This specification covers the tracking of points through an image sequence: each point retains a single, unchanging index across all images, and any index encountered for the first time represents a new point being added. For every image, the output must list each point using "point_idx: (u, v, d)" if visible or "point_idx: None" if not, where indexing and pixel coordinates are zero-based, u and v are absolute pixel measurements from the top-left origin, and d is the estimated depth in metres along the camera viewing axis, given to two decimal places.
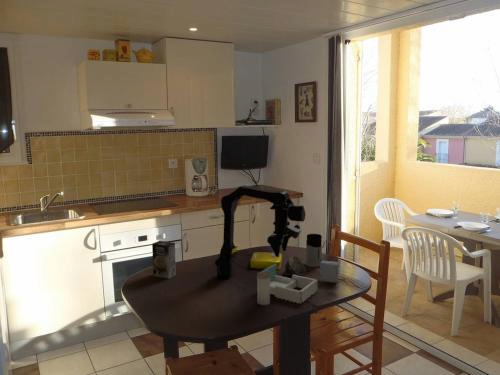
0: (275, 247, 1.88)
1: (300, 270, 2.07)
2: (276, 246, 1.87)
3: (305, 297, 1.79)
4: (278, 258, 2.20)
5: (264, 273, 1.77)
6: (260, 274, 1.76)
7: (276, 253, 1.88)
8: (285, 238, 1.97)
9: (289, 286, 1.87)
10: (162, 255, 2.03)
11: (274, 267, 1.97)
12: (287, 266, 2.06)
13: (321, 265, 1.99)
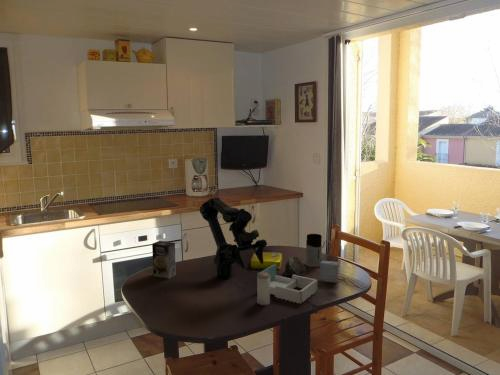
0: (237, 259, 1.82)
1: (300, 270, 2.07)
2: (237, 257, 1.82)
3: (305, 297, 1.79)
4: (278, 258, 2.21)
5: (264, 273, 1.77)
6: (260, 274, 1.76)
7: (240, 264, 1.80)
8: (258, 251, 1.87)
9: (289, 286, 1.87)
10: (162, 255, 2.03)
11: (274, 267, 1.97)
12: (287, 266, 2.06)
13: (321, 265, 1.99)
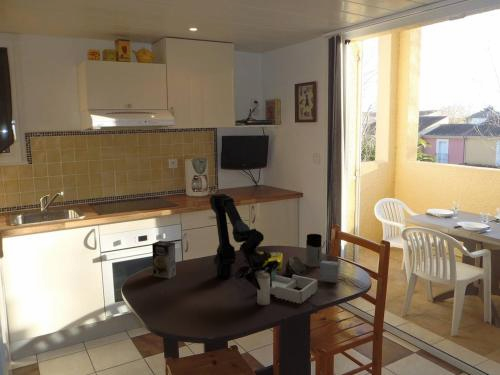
0: (252, 280, 1.76)
1: (300, 270, 2.07)
2: (252, 279, 1.76)
3: (305, 297, 1.79)
4: (279, 258, 2.21)
5: (264, 273, 1.77)
6: (260, 274, 1.76)
7: (256, 286, 1.75)
8: None
9: (289, 286, 1.87)
10: (162, 255, 2.03)
11: None
12: (287, 266, 2.06)
13: (321, 265, 1.99)
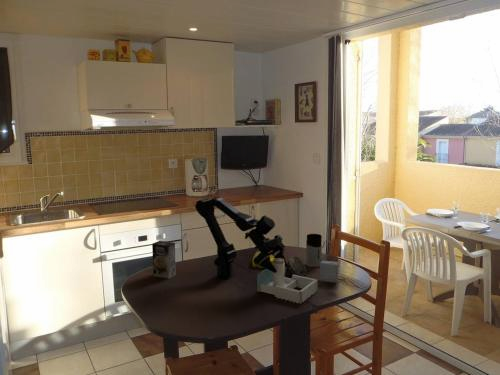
0: (267, 265, 1.85)
1: (301, 270, 2.07)
2: (267, 263, 1.85)
3: (305, 297, 1.79)
4: None
5: (278, 258, 1.90)
6: (276, 260, 1.88)
7: (272, 269, 1.85)
8: (279, 255, 1.94)
9: (289, 286, 1.87)
10: (162, 255, 2.03)
11: None
12: (288, 266, 2.07)
13: (321, 265, 1.99)
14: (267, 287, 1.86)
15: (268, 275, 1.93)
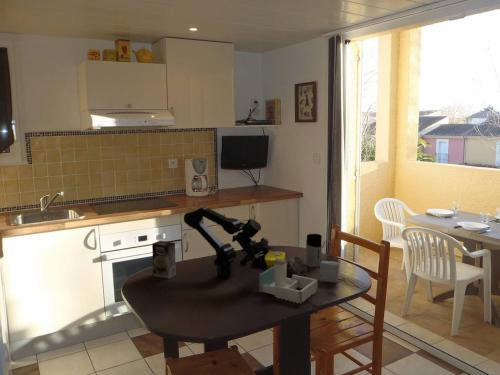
0: (259, 264, 1.93)
1: (301, 270, 2.07)
2: (259, 263, 1.93)
3: (305, 297, 1.79)
4: (281, 257, 2.22)
5: (280, 259, 1.89)
6: (277, 260, 1.87)
7: (264, 269, 1.92)
8: None
9: (291, 287, 1.87)
10: (162, 255, 2.03)
11: None
12: (288, 266, 2.07)
13: (321, 265, 1.99)
14: (269, 288, 1.85)
15: (270, 275, 1.92)
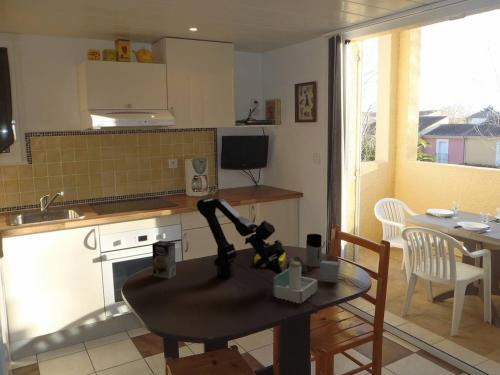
0: (272, 267, 1.89)
1: (301, 270, 2.06)
2: (272, 266, 1.89)
3: (305, 297, 1.79)
4: (282, 256, 2.23)
5: (294, 262, 1.86)
6: (292, 263, 1.84)
7: (277, 272, 1.89)
8: None
9: None
10: (162, 255, 2.03)
11: None
12: (288, 266, 2.07)
13: (321, 265, 1.99)
14: None
15: (284, 279, 1.89)
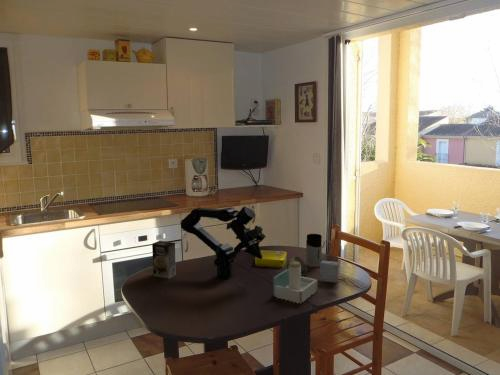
0: (253, 251, 1.94)
1: (301, 270, 2.06)
2: (253, 250, 1.94)
3: (305, 297, 1.79)
4: (282, 256, 2.23)
5: (294, 262, 1.86)
6: (292, 263, 1.84)
7: (257, 256, 1.93)
8: None
9: None
10: (162, 255, 2.03)
11: None
12: (288, 266, 2.07)
13: (321, 265, 1.99)
14: None
15: (284, 279, 1.89)
